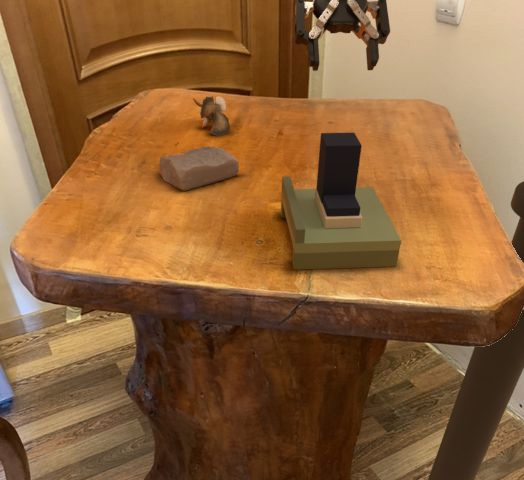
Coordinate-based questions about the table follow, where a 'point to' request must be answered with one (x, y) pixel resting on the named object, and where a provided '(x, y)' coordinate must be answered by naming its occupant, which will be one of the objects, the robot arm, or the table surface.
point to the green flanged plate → (338, 233)
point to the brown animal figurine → (214, 114)
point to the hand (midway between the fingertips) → (344, 67)
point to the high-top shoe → (338, 180)
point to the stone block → (198, 167)
